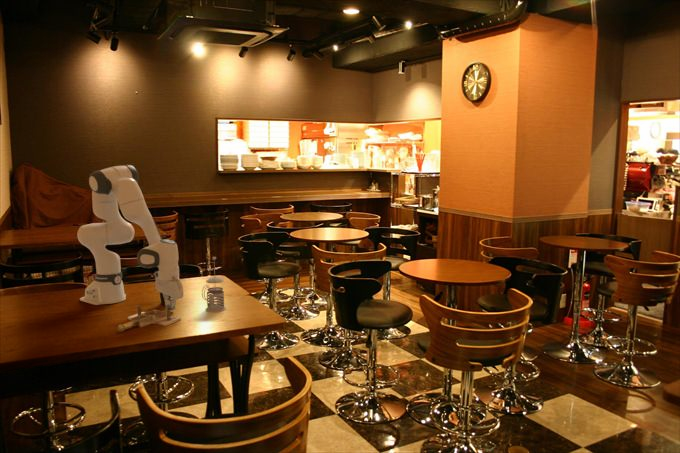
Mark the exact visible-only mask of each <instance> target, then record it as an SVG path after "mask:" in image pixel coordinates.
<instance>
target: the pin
mask: <svg viewBox="0 0 680 453" xmlns="http://www.w3.org/2000/svg"><path fill="white" fill-rule="evenodd" d="M136 326H139V321H138V320H134V321H131V320H130V321H128V322H125V323H124V324H122V323H121V324H118V325H117V331H118V332H119V333H123V332H125V331H126V330H128V329H132V328H134V327H136Z"/></svg>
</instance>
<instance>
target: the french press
mask: <svg viewBox="0 0 680 453" xmlns="http://www.w3.org/2000/svg"><path fill="white" fill-rule="evenodd" d="M211 258H212V260H213V270H214V276H211V277H210V278H208V279H206V280H205V281H206V282H205V283H207V284H206V285H203V287H202V290H201V295H202V298H203V299H204V300H205V301H206V302H207V304H206V306H207V307H206V308H205V311H206V312H208V313H218V312H219V313H220V312H224V311H226V310H227V307H226V306H225V293H224V292H225V291H224V287H218V286H214V287H210V285H208V284H221V283H223V282H224V280H225V279H223V278H221V277H218V276H216V271H215V270H216V269H215V268H216V267H215V264H216V263H215V260H217V257H216V256H212V257H211ZM206 289H207V292H206ZM205 292H206V296H205Z"/></svg>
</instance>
